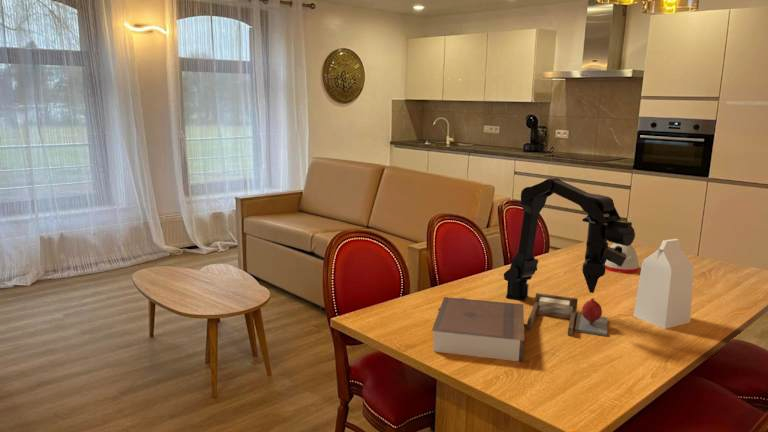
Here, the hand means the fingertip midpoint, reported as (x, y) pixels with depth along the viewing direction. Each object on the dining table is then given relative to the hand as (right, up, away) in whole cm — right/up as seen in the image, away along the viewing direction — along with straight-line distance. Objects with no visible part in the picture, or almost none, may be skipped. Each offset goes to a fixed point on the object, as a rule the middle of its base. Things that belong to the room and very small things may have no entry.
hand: (592, 288), depth 176 cm
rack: (-11, -11, +5) cm, 16 cm away
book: (-36, -14, -8) cm, 39 cm away
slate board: (0, -12, +1) cm, 12 cm away
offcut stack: (-9, -10, +10) cm, 16 cm away
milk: (+25, -11, +8) cm, 28 cm away
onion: (0, -11, +1) cm, 11 cm away
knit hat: (+34, 0, +63) cm, 72 cm away
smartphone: (-39, -9, +15) cm, 43 cm away
